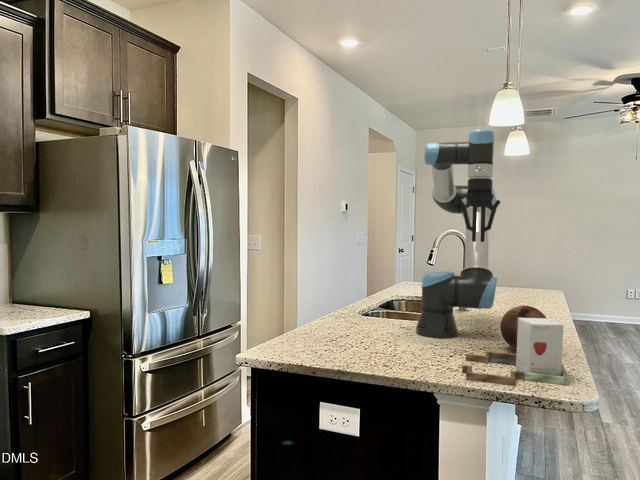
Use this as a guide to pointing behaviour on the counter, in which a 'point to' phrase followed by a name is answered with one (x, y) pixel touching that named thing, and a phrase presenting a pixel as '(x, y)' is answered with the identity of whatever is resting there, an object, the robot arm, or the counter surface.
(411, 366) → the counter surface
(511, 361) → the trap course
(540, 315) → the wooden sphere
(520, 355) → the supplement box
